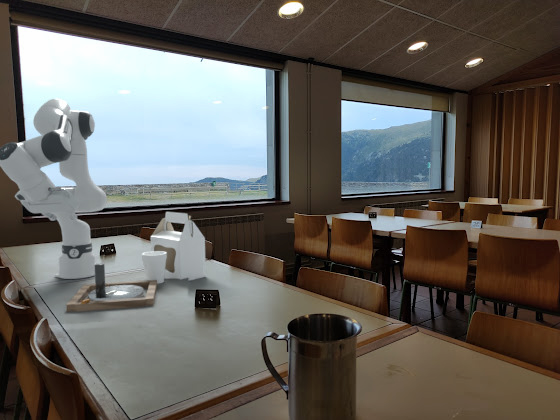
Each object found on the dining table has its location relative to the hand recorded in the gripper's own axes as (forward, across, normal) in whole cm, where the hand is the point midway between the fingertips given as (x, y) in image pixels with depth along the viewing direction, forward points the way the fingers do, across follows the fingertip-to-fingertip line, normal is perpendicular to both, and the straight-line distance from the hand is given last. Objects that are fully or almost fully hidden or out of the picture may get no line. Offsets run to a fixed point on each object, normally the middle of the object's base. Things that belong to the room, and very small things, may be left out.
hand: (64, 219), depth 143 cm
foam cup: (+41, -14, -2) cm, 43 cm away
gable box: (+51, -14, -15) cm, 55 cm away
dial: (+25, -15, +14) cm, 33 cm away
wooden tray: (+26, -15, +15) cm, 34 cm away
